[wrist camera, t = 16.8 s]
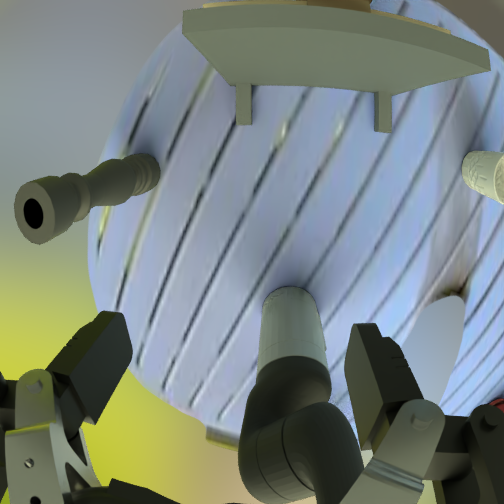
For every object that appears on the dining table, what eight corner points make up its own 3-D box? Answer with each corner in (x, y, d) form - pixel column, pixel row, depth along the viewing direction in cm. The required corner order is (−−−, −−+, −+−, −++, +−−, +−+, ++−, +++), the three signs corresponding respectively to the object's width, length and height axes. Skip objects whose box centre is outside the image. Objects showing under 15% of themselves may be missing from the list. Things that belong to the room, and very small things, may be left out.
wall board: (392, 133, 39) (493, 139, 17) (230, 125, 41) (181, 112, 18) (391, 62, 35) (481, 15, 13) (230, 52, 37) (185, -25, 14)
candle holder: (131, 148, 43) (15, 171, 19) (165, 159, 43) (61, 189, 20) (121, 185, 45) (11, 234, 22) (154, 196, 45) (54, 257, 22)
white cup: (475, 138, 37) (511, 142, 28) (496, 172, 39) (531, 183, 29) (451, 167, 40) (486, 177, 30) (473, 201, 41) (507, 217, 32)
